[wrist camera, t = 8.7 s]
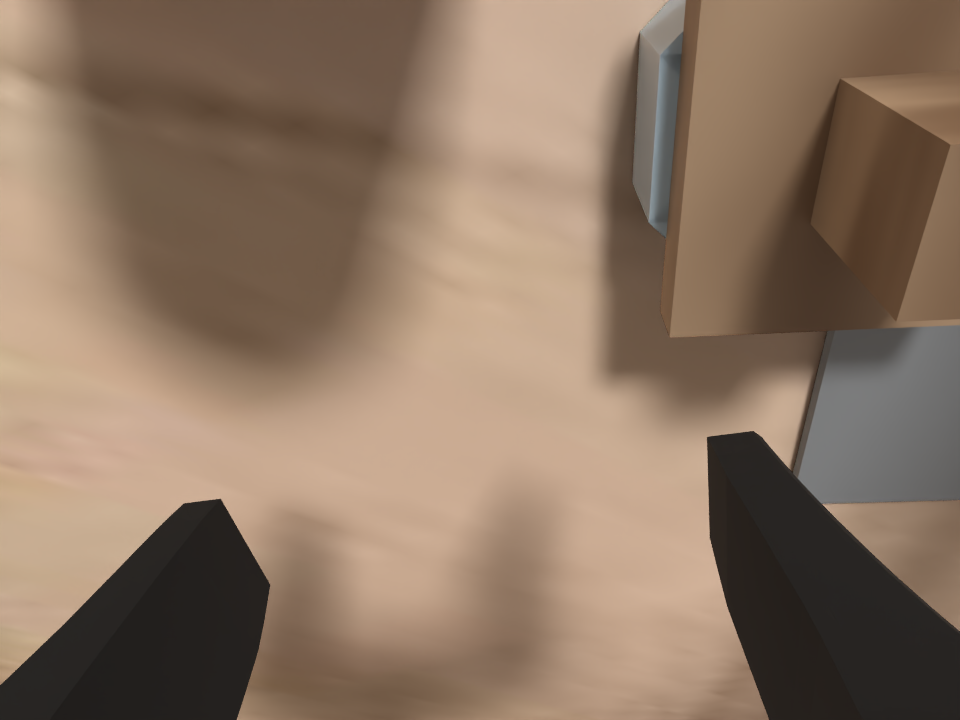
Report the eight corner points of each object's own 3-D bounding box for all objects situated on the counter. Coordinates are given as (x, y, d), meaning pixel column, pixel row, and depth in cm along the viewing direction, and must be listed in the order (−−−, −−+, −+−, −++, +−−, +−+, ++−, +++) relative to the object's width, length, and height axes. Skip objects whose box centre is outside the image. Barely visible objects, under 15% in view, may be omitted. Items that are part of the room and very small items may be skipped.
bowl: (1083, -139, 14) (1185, -142, 12) (951, 254, 18) (1007, 301, 16) (646, -100, 14) (669, -97, 12) (627, 270, 19) (642, 317, 17)
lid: (1178, -124, 12) (1543, -127, 8) (1010, 294, 16) (1181, 435, 12) (692, -83, 12) (785, -64, 8) (660, 310, 17) (709, 451, 13)
